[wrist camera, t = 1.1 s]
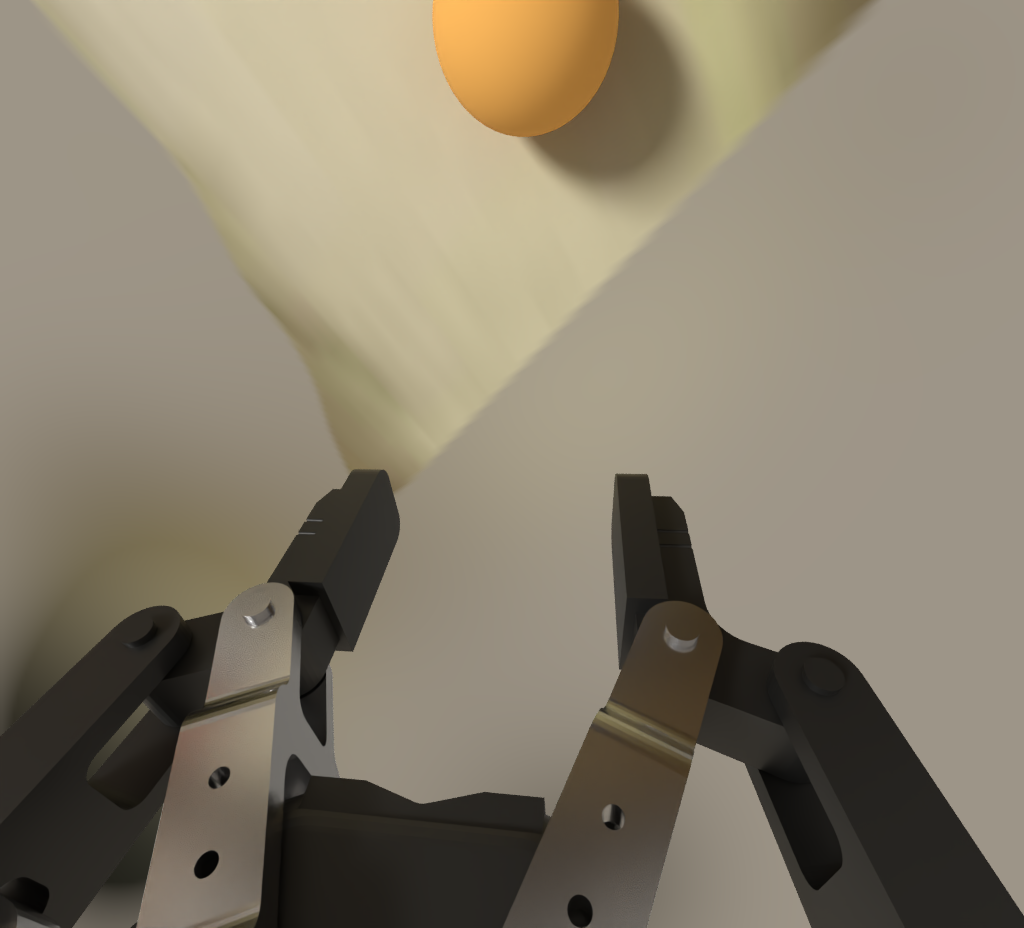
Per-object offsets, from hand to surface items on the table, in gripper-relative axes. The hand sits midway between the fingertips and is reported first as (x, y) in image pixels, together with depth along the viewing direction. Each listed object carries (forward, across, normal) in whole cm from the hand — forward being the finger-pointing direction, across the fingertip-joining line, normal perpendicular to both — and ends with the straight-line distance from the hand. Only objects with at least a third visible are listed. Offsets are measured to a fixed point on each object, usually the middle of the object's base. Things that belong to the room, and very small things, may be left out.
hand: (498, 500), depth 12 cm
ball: (+12, 0, -10) cm, 16 cm away
